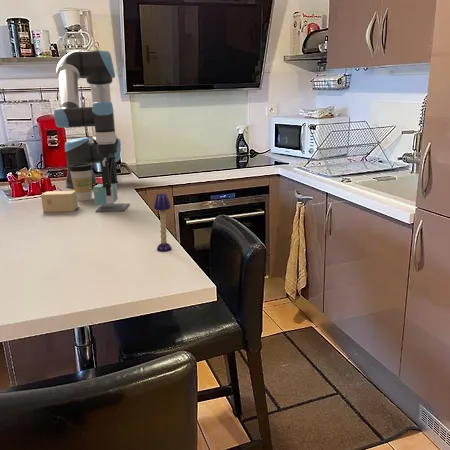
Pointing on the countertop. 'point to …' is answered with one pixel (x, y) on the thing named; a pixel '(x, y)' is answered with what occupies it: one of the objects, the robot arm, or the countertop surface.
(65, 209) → the tan cardboard box
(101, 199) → the teal cube
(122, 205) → the pad
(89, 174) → the coffee cup
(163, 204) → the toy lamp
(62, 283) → the countertop surface
